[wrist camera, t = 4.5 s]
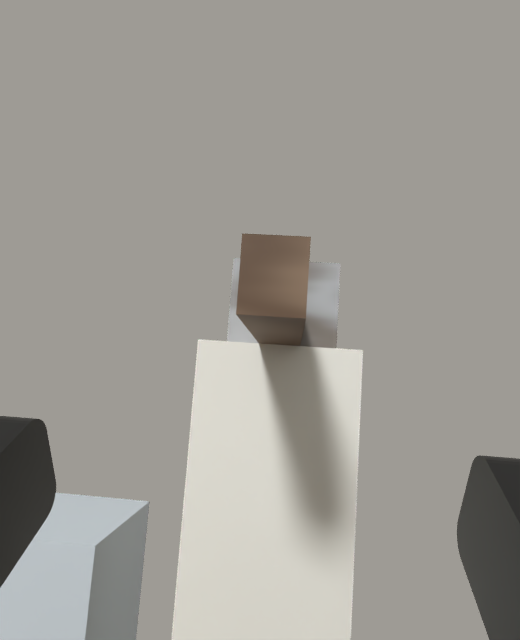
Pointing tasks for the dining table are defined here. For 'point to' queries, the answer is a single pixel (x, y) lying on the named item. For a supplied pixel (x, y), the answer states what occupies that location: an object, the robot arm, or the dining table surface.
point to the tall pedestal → (270, 494)
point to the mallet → (283, 294)
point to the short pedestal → (79, 573)
